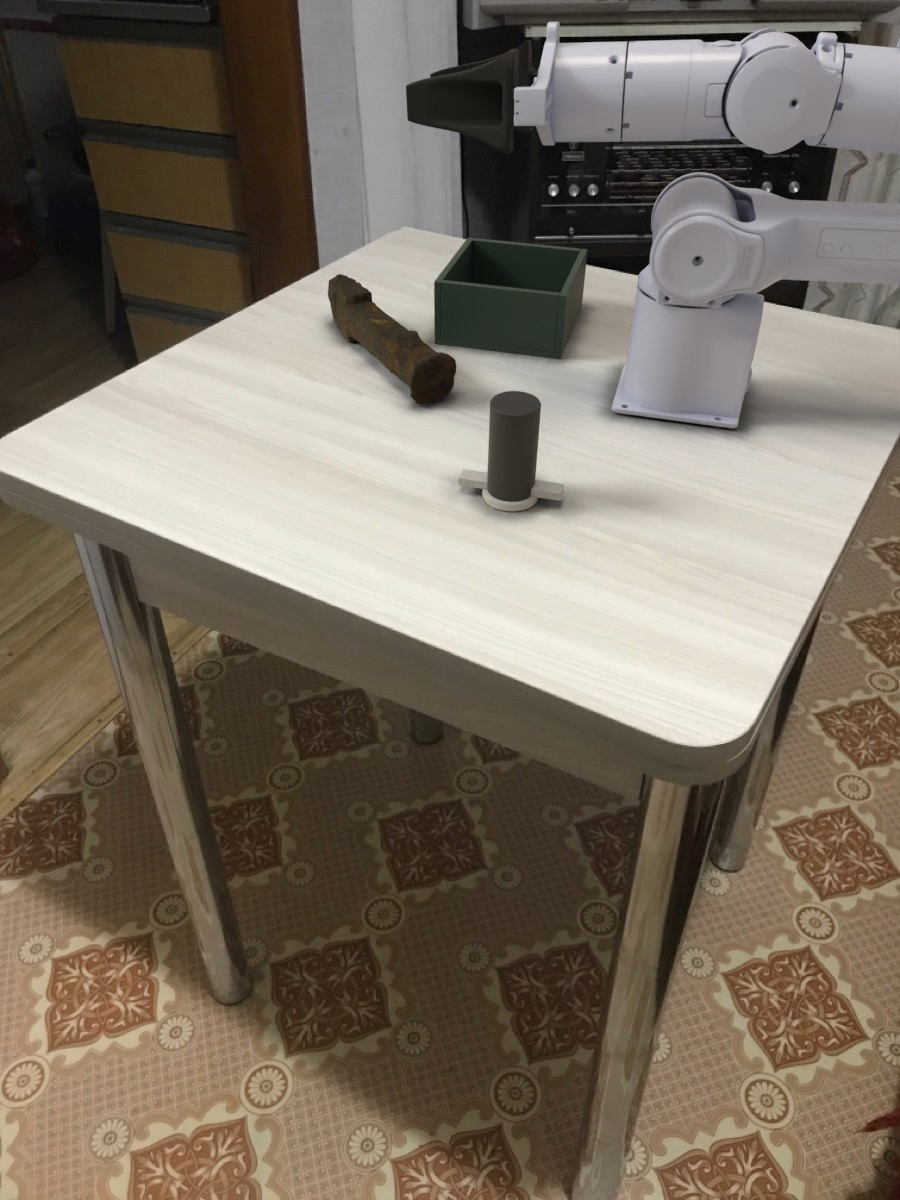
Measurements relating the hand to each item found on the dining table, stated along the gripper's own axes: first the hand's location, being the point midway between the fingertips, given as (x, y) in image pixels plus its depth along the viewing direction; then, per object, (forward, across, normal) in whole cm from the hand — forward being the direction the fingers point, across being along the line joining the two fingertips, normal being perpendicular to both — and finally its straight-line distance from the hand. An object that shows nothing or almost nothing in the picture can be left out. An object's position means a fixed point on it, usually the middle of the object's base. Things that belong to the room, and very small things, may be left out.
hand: (420, 96), depth 61 cm
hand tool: (+6, -4, +20) cm, 21 cm away
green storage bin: (-5, -13, +20) cm, 24 cm away
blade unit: (-8, +14, +22) cm, 28 cm away
